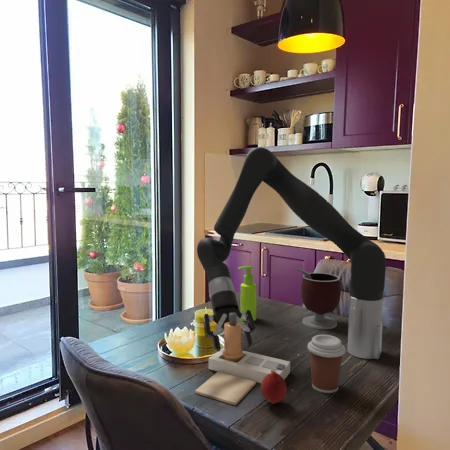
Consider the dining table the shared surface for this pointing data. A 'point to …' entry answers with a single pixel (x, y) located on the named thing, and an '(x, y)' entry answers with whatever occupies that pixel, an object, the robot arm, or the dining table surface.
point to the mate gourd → (320, 298)
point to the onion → (273, 387)
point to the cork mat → (226, 388)
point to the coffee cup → (325, 362)
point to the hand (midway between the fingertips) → (234, 348)
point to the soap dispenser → (248, 293)
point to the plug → (232, 339)
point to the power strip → (249, 366)
